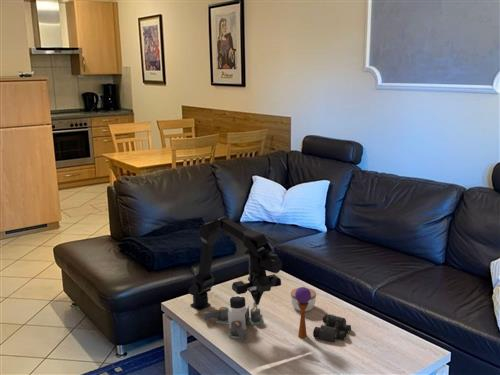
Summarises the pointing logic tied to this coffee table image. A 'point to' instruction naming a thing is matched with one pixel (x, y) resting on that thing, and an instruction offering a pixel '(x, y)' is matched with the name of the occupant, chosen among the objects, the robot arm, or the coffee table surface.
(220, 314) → the foot screw
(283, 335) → the coffee table surface
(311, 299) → the white bowl
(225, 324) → the tribrach plate
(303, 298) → the kendama
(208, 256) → the robot arm
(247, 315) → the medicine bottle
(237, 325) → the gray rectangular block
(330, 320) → the binoculars
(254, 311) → the foot screw
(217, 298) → the coffee table surface
